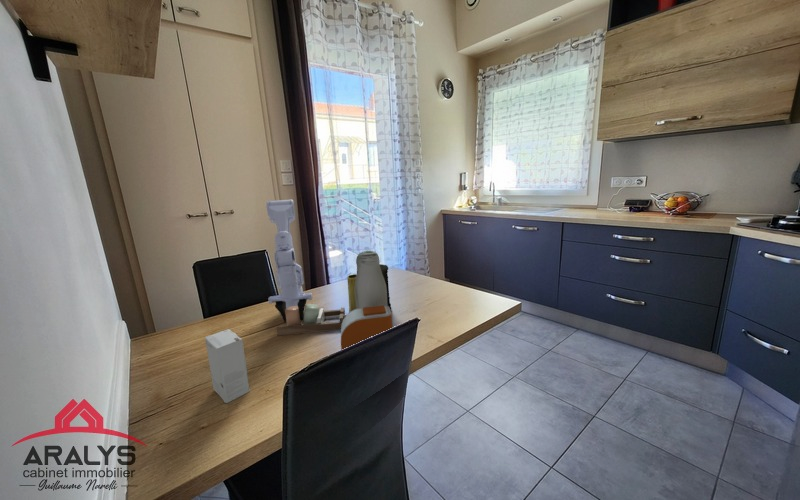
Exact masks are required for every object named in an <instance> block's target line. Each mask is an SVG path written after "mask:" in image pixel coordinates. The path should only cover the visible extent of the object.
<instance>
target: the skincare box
mask: <svg viewBox="0 0 800 500" xmlns="http://www.w3.org/2000/svg"><path fill="white" fill-rule="evenodd" d="M204 339H205V340H204V341H205V345H206V353H207V358H208V365H209V369H210V376H211V382H212V388H213V391H214V392H216V393H217V394H218V395H219V397H220V398H221V399H222V400H223V402H224V403H225V404H228V403H230V402H232V401H234V400H235V399H238V398H240V397H242V396H243V395H244V396H245V394H247V393H249V392H250V385H249V377H248V371H247V364H246V363H247V362H246V356H245V350H244V343H243V338H241V337H239V336H238V335H237V333H236V332H233V331H232V330H230V329H229V328H228V329H225V330H221V331H218V332H216V333H214V334H209V335H207V336H204Z"/></svg>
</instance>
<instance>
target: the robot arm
mask: <svg viewBox="0 0 800 500" xmlns="http://www.w3.org/2000/svg"><path fill="white" fill-rule="evenodd" d="M266 211H267V216H268V218H269V221H270V222H271V223H274V224H276V229H277V233H276V234H275V235H274V244H275V245H274V246H275V252H273V253H274V255H273V257H274V263H275V268H276V280H277V287H278V288H279V289H280V294H278V295H277V294H276V295H273V296H269V297H268V298H267V299H268V304H269V305H270V304H273V303H275V304H274V306H275V309H276V310H277V311H278V312H279V313H280V315H281V317H282V319H283V322H284V323H287V322H286V315H285V309H286V308H288V307H292V306H298V308H299V313H300V320H301V321H303V314H304V310H305V305H307V304H306V303H307V301H313V293H312V292H304V290H303V286H302V285H304V284H305V281H304V275H303V267H302V266H301V265H300V264H298V263H297V258H296V251H295V248H294V243H293V236H292V234H291V223H292V222H294V221H295V218H296V211H295V203H294V200H293V199H291V198H290V199H283V200H281V199H279V200H267V201H266Z"/></svg>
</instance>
